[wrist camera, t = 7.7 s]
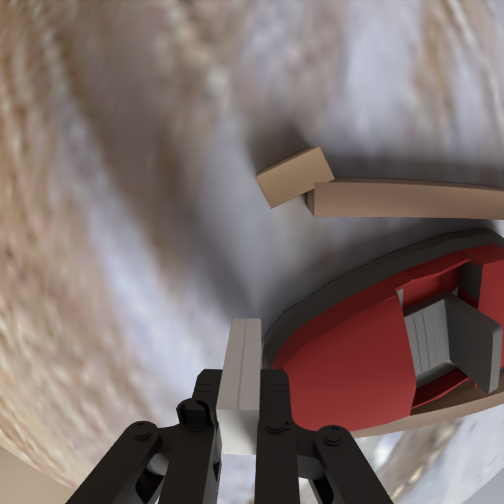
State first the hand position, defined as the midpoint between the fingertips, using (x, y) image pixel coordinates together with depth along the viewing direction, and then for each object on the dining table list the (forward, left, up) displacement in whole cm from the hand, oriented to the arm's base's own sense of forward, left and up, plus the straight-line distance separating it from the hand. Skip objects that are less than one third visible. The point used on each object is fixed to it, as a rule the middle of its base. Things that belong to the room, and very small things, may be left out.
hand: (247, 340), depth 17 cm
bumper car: (0, +10, -2) cm, 11 cm away
